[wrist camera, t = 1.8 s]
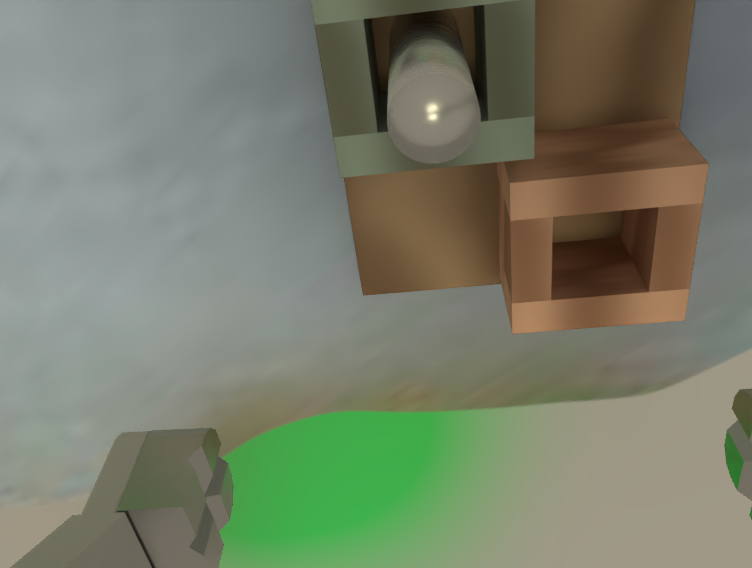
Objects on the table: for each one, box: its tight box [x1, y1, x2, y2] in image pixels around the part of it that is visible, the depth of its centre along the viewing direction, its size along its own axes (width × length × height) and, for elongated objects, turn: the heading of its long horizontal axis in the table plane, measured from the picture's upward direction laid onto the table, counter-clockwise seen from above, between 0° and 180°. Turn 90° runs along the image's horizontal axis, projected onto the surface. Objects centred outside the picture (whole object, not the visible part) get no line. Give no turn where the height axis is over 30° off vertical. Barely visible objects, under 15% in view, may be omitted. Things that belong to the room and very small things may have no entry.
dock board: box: [311, 0, 709, 334], centre depth 31 cm, size 16×18×6 cm
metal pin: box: [387, 9, 481, 164], centre depth 27 cm, size 3×3×10 cm
